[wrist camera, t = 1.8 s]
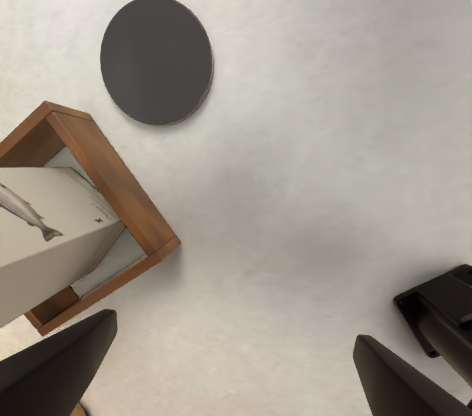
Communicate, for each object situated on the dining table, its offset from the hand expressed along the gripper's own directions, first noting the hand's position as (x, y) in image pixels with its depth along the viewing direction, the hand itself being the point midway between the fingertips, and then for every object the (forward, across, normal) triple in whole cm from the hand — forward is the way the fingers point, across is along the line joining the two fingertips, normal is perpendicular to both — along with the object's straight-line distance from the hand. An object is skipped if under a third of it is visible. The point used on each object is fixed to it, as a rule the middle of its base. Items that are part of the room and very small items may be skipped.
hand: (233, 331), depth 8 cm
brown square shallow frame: (+12, +15, 0) cm, 20 cm away
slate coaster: (+12, +8, -13) cm, 19 cm away
